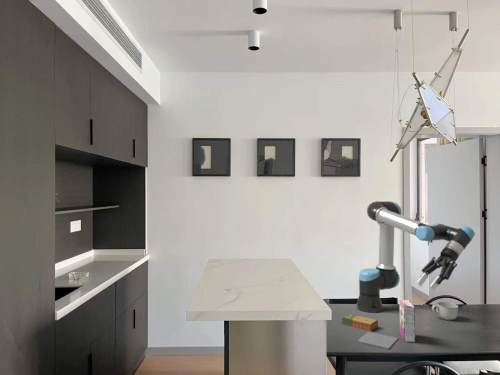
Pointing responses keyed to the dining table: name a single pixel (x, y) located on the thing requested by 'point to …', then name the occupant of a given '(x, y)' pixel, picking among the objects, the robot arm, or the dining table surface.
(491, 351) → the dining table surface
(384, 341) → the mat
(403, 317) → the candy bar box
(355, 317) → the carton
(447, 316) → the teacup
